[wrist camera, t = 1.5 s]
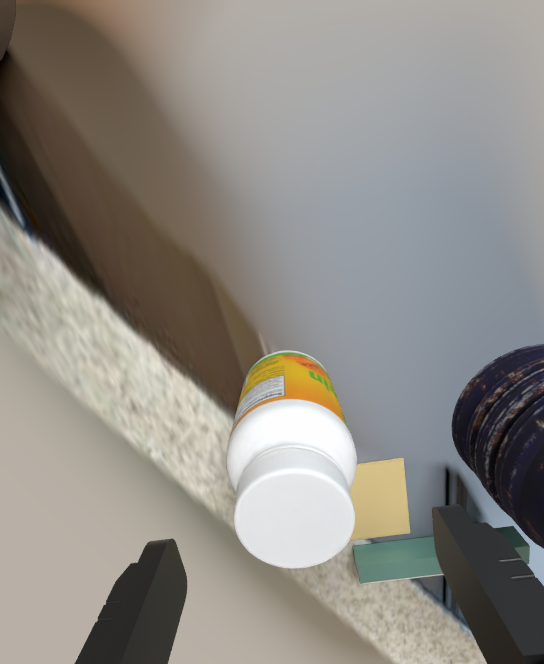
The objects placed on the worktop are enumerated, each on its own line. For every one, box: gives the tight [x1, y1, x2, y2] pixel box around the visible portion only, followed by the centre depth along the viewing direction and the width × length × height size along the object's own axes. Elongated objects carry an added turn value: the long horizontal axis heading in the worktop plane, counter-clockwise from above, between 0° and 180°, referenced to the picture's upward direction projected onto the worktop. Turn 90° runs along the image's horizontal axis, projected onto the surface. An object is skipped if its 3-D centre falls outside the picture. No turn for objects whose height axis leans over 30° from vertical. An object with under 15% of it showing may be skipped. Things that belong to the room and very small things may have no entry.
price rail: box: [353, 526, 530, 584], centre depth 22 cm, size 2×11×2 cm, turn 101°
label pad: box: [349, 458, 410, 541], centre depth 22 cm, size 6×6×1 cm
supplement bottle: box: [226, 350, 357, 569], centre depth 15 cm, size 5×5×10 cm
